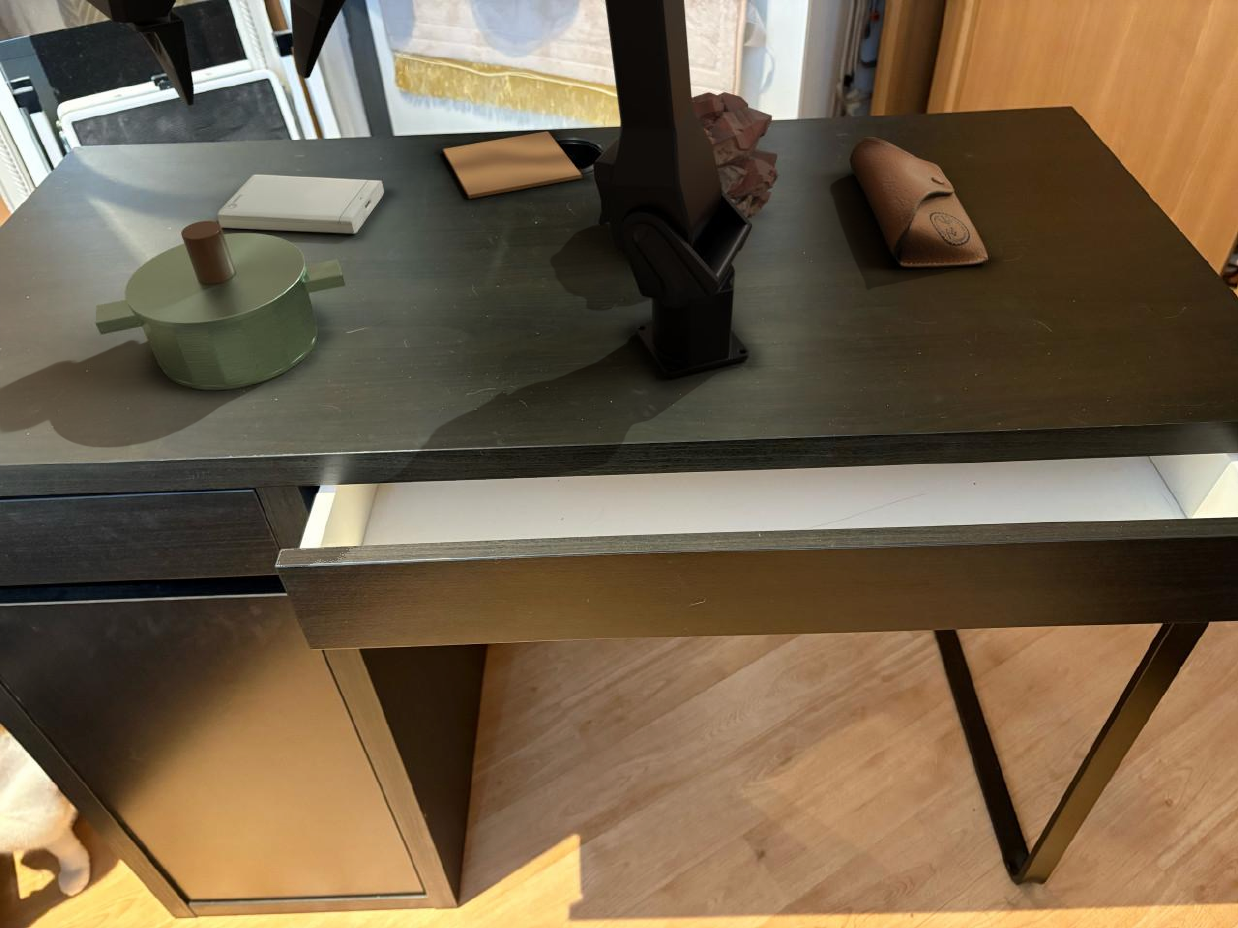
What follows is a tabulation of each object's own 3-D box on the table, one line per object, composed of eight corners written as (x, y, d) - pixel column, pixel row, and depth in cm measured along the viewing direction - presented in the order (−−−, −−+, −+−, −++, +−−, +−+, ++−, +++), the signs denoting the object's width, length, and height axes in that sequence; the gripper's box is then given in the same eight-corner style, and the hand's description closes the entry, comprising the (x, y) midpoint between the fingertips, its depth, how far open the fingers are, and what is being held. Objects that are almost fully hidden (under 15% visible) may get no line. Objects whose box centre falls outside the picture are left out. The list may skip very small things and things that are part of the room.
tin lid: (318, 313, 66) (301, 253, 62) (129, 352, 63) (102, 291, 60) (298, 233, 74) (283, 177, 71) (131, 264, 71) (108, 207, 68)
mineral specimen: (626, 271, 87) (758, 184, 89) (682, 293, 76) (832, 194, 78) (564, 155, 82) (706, 65, 84) (614, 160, 71) (778, 57, 72)
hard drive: (215, 213, 84) (350, 218, 83) (254, 172, 90) (381, 176, 89) (221, 230, 85) (354, 236, 84) (259, 189, 91) (384, 193, 90)
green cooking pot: (365, 360, 70) (349, 296, 66) (118, 414, 65) (88, 349, 62) (342, 284, 78) (327, 223, 74) (122, 328, 74) (95, 266, 70)
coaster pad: (581, 178, 91) (581, 174, 91) (469, 199, 88) (468, 195, 88) (547, 135, 99) (547, 131, 99) (443, 152, 96) (442, 149, 96)
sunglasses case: (997, 259, 77) (971, 194, 73) (914, 301, 79) (884, 240, 75) (936, 164, 90) (911, 104, 87) (866, 201, 93) (839, 145, 89)
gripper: (278, -200, 68) (299, 25, 79) (-5, -187, 57) (66, 71, 68) (371, -153, 63) (380, 80, 74) (82, -129, 52) (142, 138, 63)
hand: (247, 89), depth 70 cm, fingers open, 9 cm apart
